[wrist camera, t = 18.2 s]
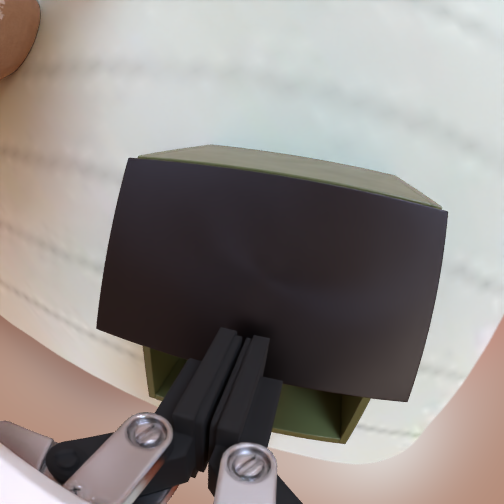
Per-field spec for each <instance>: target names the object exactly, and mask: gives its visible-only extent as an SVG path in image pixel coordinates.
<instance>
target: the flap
mask: <svg viewBox="0 0 504 504" xmlns="http://www.w3.org/2000/svg"><path fill="white" fill-rule="evenodd" d="M447 218H448V212H447V211H444V210H441V209H437V208H433V207H429V206H425V205H421V204H417V203H413V202H409V201H405V200H401V199H397V198H392V197H388V196H383V195H379V194H374V193H370V192H365V191H361V190H356V189H351V188H346V187H341V186H336V185H331V184H325V183H320V182H315V181H309V180H303V179H298V178H292V177H286V176H280V175H273V174H267V173H261V172H254V171H247V170H240V169H232V168H225V167H217V166H209V165H200V164H191V163H182V162H172V161H162V160H150V159H138V158H128V162H127V165H126V169H125V173H124V177H123V180H122V184H121V188H120V193H119V197H118V201H117V205H116V210H115V214H114V219H113V224H112V228H111V233H110V239H109V244H108V249H107V255H106V261H105V266H104V273H103V279H102V286H101V293H100V300H99V308H98V317H97V326H96V329H98V330H101V331H104V332H106V333H109V334H112V335H114V336H117V337H120V338H122V339H125V340H128V341H131V342H134V343H137V344H140V345H142V346H145V347H148V348H151V349H154V350H158V351H161V352H164V353H167V354H170V355H173V356H177V357H180V358H183V359H187V360H188V359H190V358H192V359H196V360H199V361H202V360H203V358H204V356H205V354H206V353H207V351H208V349H209V347H210V345H211V344H212V342H213V340H214V338H215V336H216V335H217V333H218V331H219V329H220V328H221V327H222V328H226V329H231V330H235V331H237V335H238V336H242V345H241V350H242V347H243V345H244V343H245V340H246V338H250V339H252V338H253V336H254V335H257V336H261V337H266V338H270V342H269V347H268V353H267V358H266V363H265V368H264V373H263V377H267V378H272V379H277V380H281V381H283V384H287V385H292V386H297V387H302V388H308V389H313V390H319V391H325V392H331V393H337V394H343V395H350V396H357V397H365V398H373V399H381V400H390V401H400V402H408V399H409V396H410V393H411V390H412V387H413V384H414V381H415V378H416V374H417V371H418V368H419V364H420V361H421V358H422V354H423V350H424V347H425V343H426V339H427V335H428V331H429V327H430V323H431V318H432V314H433V309H434V304H435V300H436V294H437V289H438V284H439V278H440V272H441V266H442V259H443V252H444V245H445V237H446V228H447Z"/></svg>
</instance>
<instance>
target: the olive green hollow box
mask: <svg viewBox="0 0 504 504" xmlns="http://www.w3.org/2000/svg"><path fill="white" fill-rule="evenodd" d="M138 159H150V160H162V161H172V162H182V163H191V164H200V165H209V166H217V167H225V168H232V169H240V170H247V171H254V172H261V173H267V174H273V175H280V176H286V177H292V178H298V179H303V180H309V181H315V182H320V183H325V184H331V185H336V186H341V187H346V188H351V189H356V190H361V191H365V192H370V193H374V194H379V195H383V196H388V197H392V198H397V199H401V200H405V201H409V202H413V203H417V204H421V205H425V206H429V207H433V208H437V209H441V210H442V207H441V206H440V205H438V204H437V203H436V202H434V201H433V200H431V199H430V198H428V197H427V196H425V195H424V194H423V193H421V192H420V191H418V190H417V189H415V188H414V187H412V186H410V185H409V184H407V183H406V182H404V181H403V180H401V179H400V178H398V177H396V176H394V175H390V174H386V173H382V172H377V171H373V170H368V169H364V168H359V167H354V166H349V165H344V164H339V163H334V162H329V161H323V160H318V159H312V158H306V157H300V156H294V155H288V154H281V153H275V152H268V151H260V150H253V149H245V148H237V147H228V146H219V145H204V146H197V147H189V148H183V149H176V150H170V151H163V152H157V153H152V154H146V155H140V156H138ZM143 352H144V360H145V369H146V377H147V384H148V391H149V397H152V398H155V399H157V400H160V401H163V399H164V397H165V396H166V394H167V393H168V391H169V389H170V388H171V386H172V384H173V383H174V381H175V380H176V378H177V376H178V375H179V373H180V371H181V370H182V368H183V367H184V365H185V363H186V362H187V359H183V358H180V357H177V356H173V355H170V354H167V353H164V352H161V351H158V350H154V349H151V348H148V347H145V346H143ZM370 399H371V398H365V397H357V396H350V395H343V394H337V393H331V392H325V391H319V390H313V389H308V388H302V387H297V386H292V385H287V384H282V389H281V393H280V398H279V402H278V406H277V410H276V415H275V419H274V423H273V427H272V431H271V432H274V433H279V434H284V435H289V436H295V437H300V438H306V439H312V440H319V441H326V442H333V443H341V444H346V442H347V440H348V439H349V437H350V435H351V434H352V432H353V430H354V428H355V427H356V425H357V423H358V421H359V419H360V418H361V416H362V414H363V412H364V410H365V408H366V407H367V405H368V403H369V401H370Z"/></svg>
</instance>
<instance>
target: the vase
mask: <svg viewBox="0 0 504 504" xmlns="http://www.w3.org/2000/svg"><path fill="white" fill-rule="evenodd" d="M39 22H40V7H39V4H38V2H37V1H36V0H0V80H1V79H2V78H4V77H6V76H8V75H10V74H11V73H13V72H14V71H15V70H16V69H17V68H18V67H19V66H20V65H21V64H22V63H23V61H24V60H25V58H26V57H27V55H28V53H29V51H30V49H31V47H32V45H33V43H34V40H35V38H36V35H37V31H38V27H39Z"/></svg>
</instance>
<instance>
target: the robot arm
mask: <svg viewBox="0 0 504 504" xmlns="http://www.w3.org/2000/svg"><path fill="white" fill-rule="evenodd" d="M269 342H270V338H266V337H261V336H257V335H254V336H253V338H252V339H250V338H246V340H245V343H244V345H243V347H242V350H241V345H242V336H238V335H237V331H235V330H231V329H226V328H222V327H221V328H220V329H219V331H218V333H217V335H216V336H215V338H214V340H213V342H212V344H211V345H210V347H209V349H208V351H207V353H206V354H205V356H204V358H203V360H202V361H199V360H196V359H192V358H190V359H188V360H187V362H186V363H185V365H184V367H183V368H182V370H181V371H180V373H179V375H178V376H177V378H176V380H175V381H174V383H173V384H172V386H171V388H170V389H169V391H168V393H167V394H166V396H165V397H164V399H163V401H162V402H161V404H160V406H159V407H158V409H157V411H156V412H155V413H149V412H143V413H138V414H135V415H132V416H131V417H130V418H128V419H127V420H126V421H125V422H124V423H123V424H122V425H121V426H120V427H119V428H118V429H117V430H116V431H115V432H113V433H108V434H103V435H99V436H93V437H88V438H83V439H77V440H71V441H65V442H61V443H57V442H54V440H53V439H52V438H49V437H47V436H44V435H41V434H38V433H36V432H33V431H31V430H28V429H26V428H23V427H21V426H18V425H16V424H14V423H12V422H8V421H0V504H167V502H168V501H169V500H170V498H171V497H172V495H173V494H174V492H175V491H176V490H177V488H178V486H179V484H182V483H186V482H188V480H189V478H190V477H193V478H195V477H196V475H197V473H198V471H201V472H204V470H205V469H206V467H207V464H208V462H209V465H208V489H209V490H210V491H211V493H212V494H213V496H214V503H213V504H303V503H302V502H301V501H300V500H299V499H298V498H297V497H296V496H295V494H294V493H293V492H292V491H291V490H290V489H289V488H288V487H287V485H286V484H285V483H284V482H283V481H282V480H281V478H280V477H279V476H278V475H277V462H276V458H275V457H274V455H273V453H272V452H271V451H270V450H269V449H267V447H268V443H269V439H270V435H271V431H272V427H273V423H274V419H275V415H276V410H277V406H278V402H279V398H280V393H281V389H282V384H283V381H281V380H277V379H272V378H267V377H263V373H264V368H265V363H266V358H267V353H268V347H269Z"/></svg>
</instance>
